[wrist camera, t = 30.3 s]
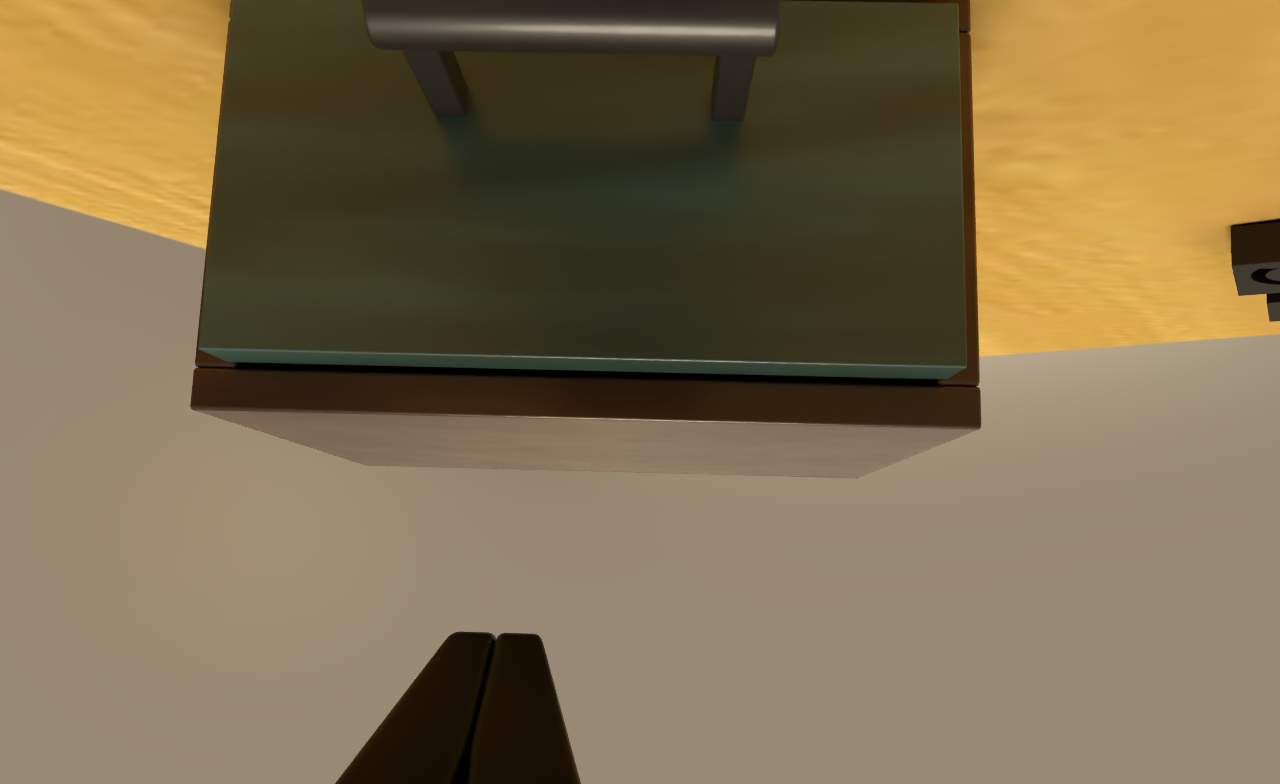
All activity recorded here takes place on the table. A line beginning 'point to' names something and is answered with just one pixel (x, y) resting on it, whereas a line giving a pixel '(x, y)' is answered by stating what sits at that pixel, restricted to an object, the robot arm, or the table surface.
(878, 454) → the cabinet
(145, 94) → the table surface
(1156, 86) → the table surface
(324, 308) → the drawer
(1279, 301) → the black small parts set
